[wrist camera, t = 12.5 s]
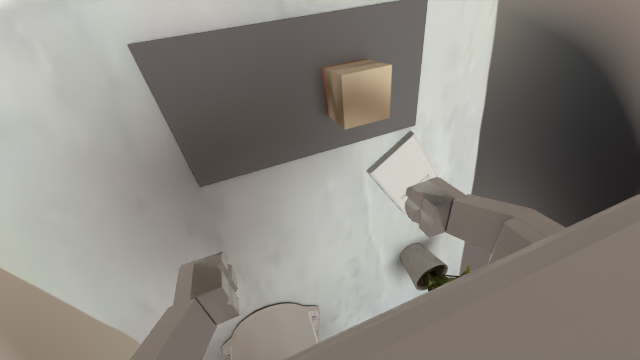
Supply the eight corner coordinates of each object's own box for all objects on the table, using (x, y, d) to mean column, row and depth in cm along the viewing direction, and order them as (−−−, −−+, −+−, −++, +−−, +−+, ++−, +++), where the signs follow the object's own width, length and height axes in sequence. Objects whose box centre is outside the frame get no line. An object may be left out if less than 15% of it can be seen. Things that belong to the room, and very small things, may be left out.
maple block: (344, 129, 24) (326, 114, 28) (389, 117, 25) (365, 105, 29) (341, 75, 21) (321, 67, 25) (392, 64, 22) (365, 58, 26)
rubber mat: (412, 123, 33) (415, 125, 33) (200, 184, 28) (199, 187, 27) (424, -4, 25) (428, -4, 25) (129, 44, 20) (127, 44, 19)
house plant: (432, 267, 57) (496, 338, 44) (380, 287, 53) (432, 371, 40) (446, 221, 49) (530, 292, 36) (386, 241, 45) (454, 328, 32)
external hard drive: (407, 129, 34) (435, 177, 42) (364, 169, 35) (399, 209, 43) (415, 133, 33) (443, 182, 40) (370, 174, 34) (405, 214, 41)
